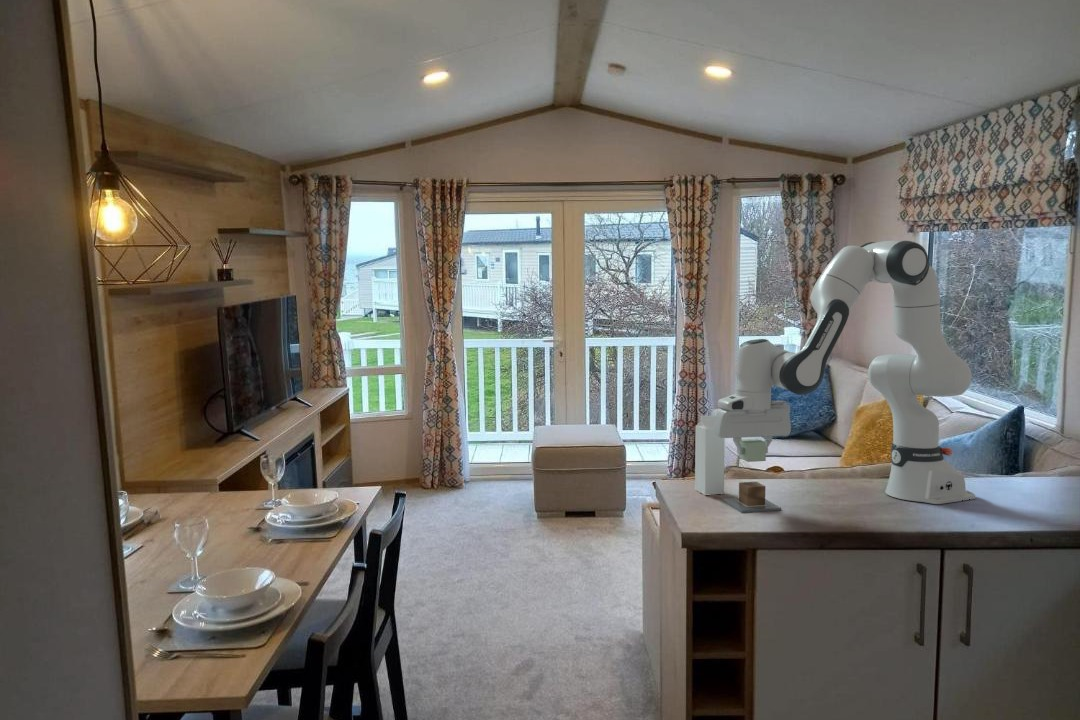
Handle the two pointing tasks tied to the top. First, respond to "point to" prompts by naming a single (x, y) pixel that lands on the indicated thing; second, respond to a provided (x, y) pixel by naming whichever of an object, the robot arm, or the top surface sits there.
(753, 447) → the green block
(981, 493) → the top surface
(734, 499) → the coaster
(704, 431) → the milk
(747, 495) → the walnut block
